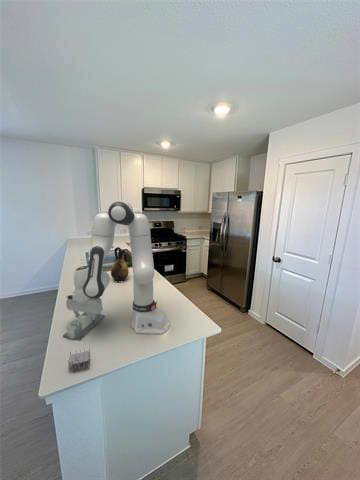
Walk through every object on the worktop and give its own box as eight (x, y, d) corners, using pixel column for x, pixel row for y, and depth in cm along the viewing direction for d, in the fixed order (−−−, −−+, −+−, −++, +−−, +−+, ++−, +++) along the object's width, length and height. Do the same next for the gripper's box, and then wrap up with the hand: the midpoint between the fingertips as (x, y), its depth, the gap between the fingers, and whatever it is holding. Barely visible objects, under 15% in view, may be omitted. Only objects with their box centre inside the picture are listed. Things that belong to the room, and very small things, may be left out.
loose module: (92, 321, 114) (91, 311, 112) (85, 328, 108) (84, 317, 107) (85, 320, 114) (85, 310, 113) (78, 327, 108) (78, 316, 107)
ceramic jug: (132, 279, 181) (132, 247, 176) (119, 285, 168) (118, 250, 163) (119, 275, 190) (118, 245, 184) (106, 280, 176) (104, 247, 171)
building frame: (89, 369, 83) (89, 357, 82) (68, 375, 80) (67, 362, 79) (90, 358, 89) (90, 347, 88) (70, 363, 86) (69, 351, 85)
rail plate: (105, 316, 122) (104, 306, 120) (79, 341, 99) (78, 329, 98) (90, 314, 123) (89, 304, 122) (62, 338, 101) (61, 326, 100)
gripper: (104, 294, 109) (105, 317, 112) (71, 290, 113) (73, 312, 115) (97, 300, 103) (98, 324, 106) (63, 295, 107) (65, 318, 109)
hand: (85, 318), depth 110 cm, fingers open, 8 cm apart
